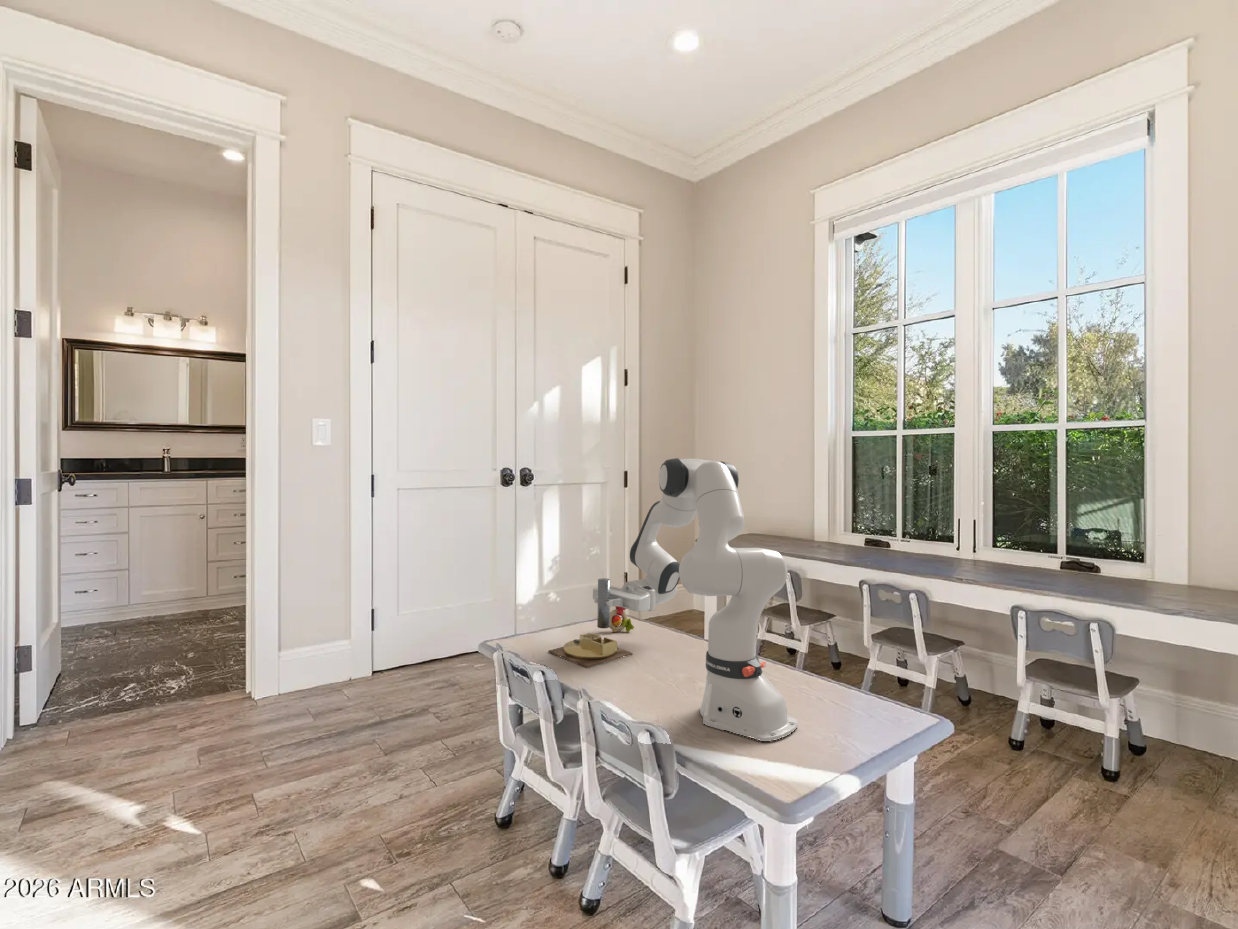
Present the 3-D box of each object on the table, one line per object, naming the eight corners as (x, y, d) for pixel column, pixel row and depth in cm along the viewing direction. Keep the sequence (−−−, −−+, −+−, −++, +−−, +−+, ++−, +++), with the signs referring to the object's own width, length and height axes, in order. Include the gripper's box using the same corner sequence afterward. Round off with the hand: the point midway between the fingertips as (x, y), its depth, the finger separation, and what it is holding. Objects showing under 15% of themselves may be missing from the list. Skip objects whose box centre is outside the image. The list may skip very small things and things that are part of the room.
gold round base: (629, 652, 188) (629, 637, 188) (588, 664, 177) (589, 648, 177) (592, 639, 201) (593, 626, 201) (552, 650, 190) (553, 635, 190)
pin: (612, 626, 185) (612, 579, 185) (602, 629, 183) (603, 581, 182) (603, 624, 188) (604, 577, 187) (594, 626, 185) (595, 579, 185)
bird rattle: (619, 641, 209) (640, 627, 213) (607, 612, 207) (629, 598, 211) (609, 636, 215) (630, 623, 219) (598, 608, 212) (620, 595, 216)
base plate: (632, 654, 189) (632, 651, 189) (586, 667, 177) (586, 665, 177) (593, 640, 202) (593, 638, 202) (548, 652, 190) (548, 649, 190)
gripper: (612, 579, 201) (579, 585, 192) (658, 590, 186) (625, 597, 177) (611, 598, 201) (578, 605, 192) (658, 611, 187) (625, 619, 177)
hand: (601, 602), depth 184 cm, fingers closed on pin, 4 cm apart
